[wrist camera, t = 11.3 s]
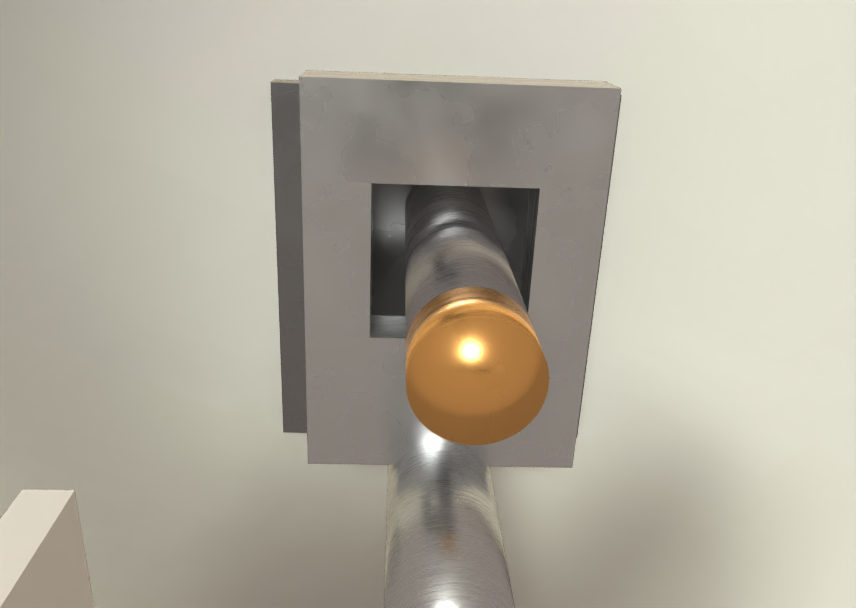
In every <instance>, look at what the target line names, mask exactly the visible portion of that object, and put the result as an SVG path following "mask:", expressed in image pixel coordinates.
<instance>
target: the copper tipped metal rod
mask: <svg viewBox="0 0 856 608" xmlns="http://www.w3.org/2000/svg"><path fill="white" fill-rule="evenodd" d="M405 313H406V392H407V398H408V401H409V404H410V407H411V408H412V410H413V412H414V414H415V415H416V417H417V418H418V420H419V421H420V422H421V423H422V424H423V425H424V426H425V427H426V428H427V429H428V430H430V431H431V432H432V433H434V434H436V435H437V436H439V437H441V438H443V439H445V440H448V441H451V442H454V443H458V444H464V445H485V444H492V443H495V442H499V441H502V440H504V439H507V438H509V437H511V436H513V435H515V434H517V433H518V432H520V431H521V430H522V429H524V428H525V427H526V426H527V425H528V424H530V423H531V421H532V420H533V419H534V418H535V417H536V416H537V414H538V413H539V411H540V410H541V408H542V406H543V404H544V402H545V399H546V396H547V393H548V387H549V370H548V366H547V362H546V359H545V356H544V354H543V351H542V348H541V346H540V343H539V341H538V338H537V335H536V333H535V330H534V328H533V325H532V322H531V320H530V317H529V315H528V312H527V309H526V307H525V304H524V302H523V299H522V296H521V294H520V291H519V289H518V286H517V283H516V281H515V278H514V276H513V273H512V270H511V268H510V265H509V263H508V260H507V257H506V255H505V252H504V250H503V247H502V244H501V242H500V239H499V237H498V234H497V231H496V229H495V226H494V224H493V221H492V218H491V216H490V213H489V210H488V208H487V205H486V203H485V200H484V197H483V195H482V193H481V191H480V189H479V188H478V187H475V186H443V185H414V187H413V188H412V189H411V191H410V193H409V195H408V197H407V200H406V205H405Z"/></svg>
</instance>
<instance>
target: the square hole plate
mask: <svg viewBox="0 0 856 608" xmlns="http://www.w3.org/2000/svg"><path fill="white" fill-rule="evenodd" d="M271 103H272V130H273V158H274V185H275V212H276V240H277V267H278V294H279V322H280V349H281V376H282V404H283V431H284V432H297V433H307V440H308V464H372V465H388V490H387V524H386V557H385V590H384V608H515V606H514V601H513V595H512V590H511V584H510V579H509V573H508V568H507V562H506V557H505V551H504V546H503V540H502V535H501V529H500V524H499V518H498V512H497V507H496V501H495V496H494V490H493V485H492V479H491V474H490V468H489V466H499V467H563V468H572V465H573V458H574V450H575V442H576V437H577V434H578V426H579V418H580V411H581V403H582V395H583V387H584V380H585V372H586V364H587V357H588V349H589V341H590V334H591V326H592V318H593V311H594V303H595V295H596V287H597V280H598V272H599V264H600V257H601V249H602V241H603V234H604V226H605V218H606V211H607V203H608V195H609V187H610V180H611V172H612V164H613V157H614V149H615V141H616V134H617V126H618V118H619V111H620V103H621V88H619V87H617V86H615V85H612V84H610V83H608V82H606V81H581V80H554V79H528V78H501V77H474V76H447V75H421V74H394V73H367V72H340V71H314V70H306V71H305V72H304V73H303V74H302V75H300V76H299V80H273V81H272V82H271ZM414 185H443V186H475V187H478V188H479V189H480V191H481V193H482V195H483V197H484V200H485V203H486V205H487V208H488V210H489V213H490V216H491V218H492V221H493V224H494V226H495V229H496V231H497V234H498V237H499V239H500V242H501V244H502V247H503V250H504V252H505V255H506V257H507V260H508V263H509V265H510V268H511V270H512V273H513V276H514V278H515V281H516V283H517V286H518V289H519V291H520V294H521V296H522V299H523V302H524V304H525V307H526V309H527V312H528V315H529V317H530V320H531V322H532V325H533V328H534V330H535V333H536V335H537V338H538V341H539V343H540V346H541V348H542V351H543V354H544V356H545V359H546V362H547V366H548V370H549V387H548V393H547V396H546V399H545V402H544V404H543V406H542V408H541V410H540V411H539V413H538V414H537V416H536V417H535V418H534V419H533V420H532V421H531V423H530V424H528V425H527V426H526V427H525V428H524V429H522V430H521V431H520V432H518V433H517V434H515V435H513V436H511V437H509V438H507V439H504V440H502V441H499V442H495V443H492V444H485V445H464V444H458V443H454V442H451V441H448V440H445V439H443V438H441V437H439V436H437V435H436V434H434V433H432V432H431V431H430V430H428V429H427V428H426V427H425V426H424V425H423V424H422V423H421V422H420V421H419V420H418V418H417V417H416V415H415V414H414V412H413V410H412V408H411V407H410V404H409V401H408V398H407V392H406V313H405V205H406V200H407V197H408V195H409V193H410V191H411V189H412V188H413V187H414Z"/></svg>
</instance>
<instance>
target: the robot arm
mask: <svg viewBox="0 0 856 608" xmlns="http://www.w3.org/2000/svg"><path fill="white" fill-rule="evenodd" d="M0 608H94V603H93V597H92V591H91V585H90V579H89V573H88V567H87V561H86V555H85V549H84V543H83V537H82V531H81V525H80V519H79V513H78V507H77V501H76V495H75V490H23V489H22V491H21V492H20V493H19V495H18V496H17V497H16V499H15V500H14V501H13V503H12V504H11V506H10V507H9V508H8V510H7V511H6V512H5V514H4V515H3V516H2V518H1V519H0Z"/></svg>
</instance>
